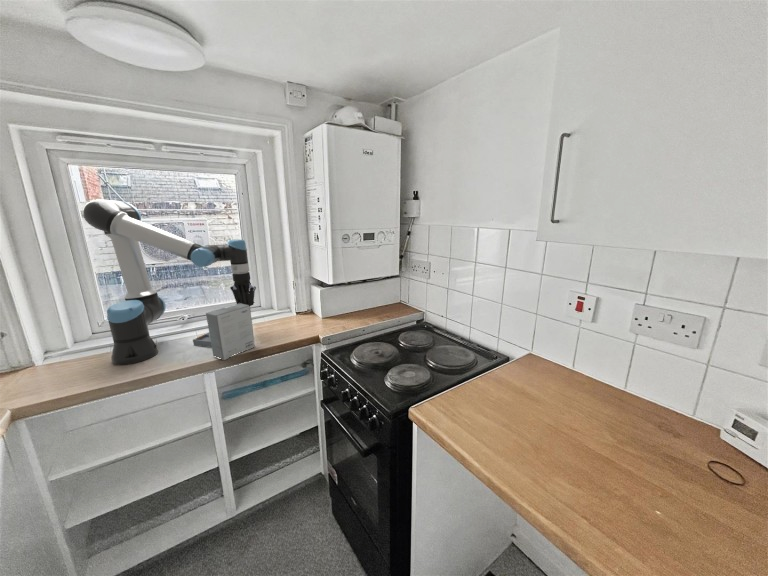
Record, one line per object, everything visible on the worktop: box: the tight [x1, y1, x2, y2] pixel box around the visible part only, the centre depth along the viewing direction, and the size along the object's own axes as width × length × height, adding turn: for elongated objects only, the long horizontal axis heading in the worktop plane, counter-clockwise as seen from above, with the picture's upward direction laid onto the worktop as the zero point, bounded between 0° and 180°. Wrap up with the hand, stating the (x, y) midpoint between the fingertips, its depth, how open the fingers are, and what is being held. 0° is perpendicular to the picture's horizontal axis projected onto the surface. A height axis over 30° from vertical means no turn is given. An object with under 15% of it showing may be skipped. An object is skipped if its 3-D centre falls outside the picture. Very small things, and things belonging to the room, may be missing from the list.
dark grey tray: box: [192, 332, 212, 348], centre depth 145 cm, size 13×20×3 cm, turn 166°
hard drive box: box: [205, 303, 256, 361], centre depth 128 cm, size 16×8×20 cm, turn 149°
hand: (247, 319), depth 147 cm, fingers closed
